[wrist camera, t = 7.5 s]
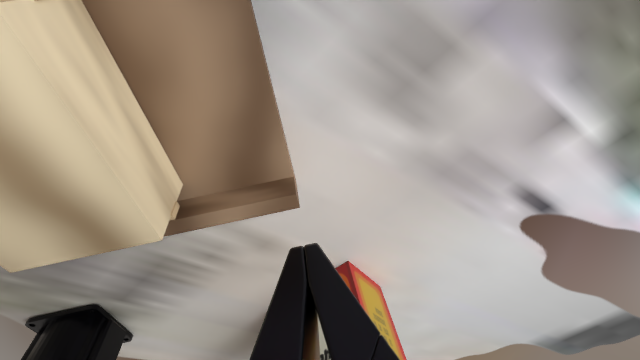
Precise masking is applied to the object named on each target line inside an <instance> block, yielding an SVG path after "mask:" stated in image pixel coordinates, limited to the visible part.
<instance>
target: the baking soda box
mask: <svg viewBox="0 0 640 360" xmlns="http://www.w3.org/2000/svg"><path fill="white" fill-rule="evenodd" d="M335 269H336V270H337V272H338V273H339V275H340V276H341V277H342V279H343V280H344V282H345V283H346V285H347V286H348V287H349V289H350V290H351V292H352V293H353V295H354V296H355V297H356V299H357V300H358V302H359V303H360V304H361V306H362V307H363V309H364V310H365V312H366V313H367V314H368V316H369V317H370V319H371V320H372V321H373V323H374V324H375V326H376V327H377V329H378V330H379V331H380V335H382V336H383V337H384V338H385V340H386V341H387V343H388V344H389V345H390V347H391V348H392V349H393V351H394V352H395V353H396V355H397V356H398V357H399V359H400V360H406V357H405V354H404V352H403V349H402V346H401V343H400V340H399V338H398V335H397V332H396V329H395V326H394V324H393V321H392V318H391V315H390V313H389V310H388V307H387V304H386V301H385V299H384V296H383V293H382V290H381V287H380V286H379V285H378V284H376V283H375V282H374V281H373V280H371V279H370V278H369V277H368V276H366V275H365V274H364V273H363V272H361V271H360V270H359V269H358V268H356V267H355V266H354V265H353V264H351V263H350V262H349V261H347V262H345V263H344V264H342V265H340V266H339V267H337V268H335ZM317 315H318V314H317ZM318 327H319V345H320V360H331V358H330V355H329V351H328V348H327V344H326V341H325V338H324V334H323V331H322V328H321V324H320V321H319V318H318Z"/></svg>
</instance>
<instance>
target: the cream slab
mask: <svg viewBox="0 0 640 360" xmlns="http://www.w3.org/2000/svg"><path fill="white" fill-rule="evenodd" d="M182 186H183V184H182V182H181V180H180V178H179V176H178V175H177V173H176V171H175V169H174V167H173V165H172V164H171V162H170V160H169V158H168V156H167V155H166V153H165V151H164V149H163V147H162V146H161V144H160V142H159V140H158V138H157V136H156V135H155V133H154V131H153V129H152V127H151V126H150V124H149V122H148V120H147V118H146V117H145V115H144V113H143V111H142V109H141V107H140V106H139V104H138V102H137V100H136V98H135V97H134V95H133V93H132V91H131V89H130V88H129V86H128V84H127V82H126V80H125V78H124V77H123V75H122V73H121V71H120V69H119V68H118V66H117V64H116V62H115V60H114V59H113V57H112V55H111V53H110V51H109V49H108V48H107V46H106V44H105V42H104V40H103V39H102V37H101V35H100V33H99V31H98V30H97V28H96V26H95V24H94V22H93V20H92V19H91V17H90V15H89V13H88V11H87V10H86V8H85V6H84V4H83V2H82V0H0V266H2V267H3V268H4V269H6V270H7V271H8V272H10V273H12V272H17V271H21V270H26V269H31V268H35V267H40V266H45V265H49V264H54V263H59V262H63V261H68V260H73V259H77V258H82V257H87V256H91V255H96V254H101V253H105V252H110V251H115V250H119V249H124V248H129V247H133V246H138V245H143V244H147V243H152V242H157V241H161V240H162V239H163V236H164V234H165V231H166V228H167V226H168V223H169V221H170V220H174V219H175V218H176V215H177V213H178V210H179V207H180V206H179V204H178V202H177V199H178V197H179V194H180V191H181V189H182Z"/></svg>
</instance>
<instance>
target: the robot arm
mask: <svg viewBox="0 0 640 360" xmlns="http://www.w3.org/2000/svg"><path fill="white" fill-rule="evenodd" d="M317 314H318V315H317ZM318 318H319V321H320V324H321V328H322V331H323V334H324V338H325V341H326V344H327V348H328V351H329V355H330V358H331V360H400V359H399V357H398V356H397V355H396V353H395V352H394V351H393V349H392V348H391V347H390V345H389V344H388V343H387V341H386V340H385V338H384V337H383V336H382V335H380V331H379V330H378V329H377V327H376V326H375V324H374V323H373V321H372V320H371V319H370V317H369V316H368V314H367V313H366V312H365V310H364V309H363V307H362V306H361V304H360V303H359V302H358V300H357V299H356V297H355V296H354V295H353V293H352V292H351V290H350V289H349V287H348V286H347V285H346V283H345V282H344V280H343V279H342V277H341V276H340V275H339V273H338V272H337V270H336V269H335V268H334V266H333V265H332V263H331V262H330V260H329V259H328V258H327V256H326V255H325V253H324V252H323V250H322V249H321V248H320V246H319V245H318V244H317V243H313V244H308V245H305V246H304V247H303V246H299V247H294V248H291V249H290V251H289V253H288V256H287V259H286V262H285V264H284V267H283V270H282V272H281V275H280V278H279V281H278V283H277V286H276V289H275V292H274V294H273V297H272V300H271V302H270V305H269V308H268V311H267V313H266V316H265V319H264V322H263V324H262V327H261V330H260V332H259V335H258V338H257V341H256V343H255V346H254V349H253V352H252V354H251V357H250V360H320V345H319V327H318ZM25 326H27V327H28V328H30V329H31V330H33V331H34V332H36V333H37V335H36V336H35V338H34V340H33V341H32V343H31V344H30V346H29V348H28V349H27V351H26V352H25V354H24V356H23V357H22V359H21V360H116V358H117V356H118V353H119V351H120V348H121V346H122V343H125V342H129V341H131V340H132V337H133V335H132V334H131V333H130V332H129V331H128V330H127V329H126V328H124V327H123V326H122V325H121V324H120V323H119V322H118V321H116V320H115V319H114V318H113V317H112V316H111V315H110V314H108V313H107V312H106V311H105V310H104V309H103V308H102V307H100V306H99V305H89V306H85V307H80V308H76V309H71V310H67V311H62V312H57V313H53V314H48V315H44V316H39V317H35V318H30V319H29V320H28V321H27V323H26V324H25Z"/></svg>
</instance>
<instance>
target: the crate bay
mask: <svg viewBox="0 0 640 360" xmlns="http://www.w3.org/2000/svg"><path fill="white" fill-rule="evenodd" d="M82 2H83V4H84V6H85V8H86V10H87V11H88V13H89V15H90V17H91V19H92V20H93V22H94V24H95V26H96V28H97V30H98V31H99V33H100V35H101V37H102V39H103V40H104V42H105V44H106V46H107V48H108V49H109V51H110V53H111V55H112V57H113V59H114V60H115V62H116V64H117V66H118V68H119V69H120V71H121V73H122V75H123V77H124V78H125V80H126V82H127V84H128V86H129V88H130V89H131V91H132V93H133V95H134V97H135V98H136V100H137V102H138V104H139V106H140V107H141V109H142V111H143V113H144V115H145V117H146V118H147V120H148V122H149V124H150V126H151V127H152V129H153V131H154V133H155V135H156V136H157V138H158V140H159V142H160V144H161V146H162V147H163V149H164V151H165V153H166V155H167V156H168V158H169V160H170V162H171V164H172V165H173V167H174V169H175V171H176V173H177V175H178V176H179V178H180V180H181V182H182V184H183V186H182V189H181V191H180V194H179V197H178V199H177V202H178V204H179V206H180V207H179V210H178V213H177V215H176V218H175V219H174V220H170V221H169V223H168V226H167V228H166V231H165V234H164V236H169V235H174V234H178V233H183V232H188V231H192V230H197V229H202V228H206V227H211V226H216V225H220V224H225V223H230V222H234V221H239V220H244V219H249V218H253V217H258V216H263V215H267V214H272V213H277V212H281V211H286V210H291V209H295V208H300V206H299V199H298V192H297V185H296V179H295V175H294V171H293V167H292V163H291V159H290V155H289V151H288V147H287V143H286V139H285V135H284V131H283V127H282V123H281V119H280V115H279V111H278V107H277V103H276V99H275V95H274V91H273V87H272V83H271V79H270V75H269V71H268V67H267V63H266V59H265V55H264V51H263V47H262V43H261V39H260V35H259V31H258V27H257V23H256V19H255V15H254V11H253V7H252V3H251V0H82ZM164 236H163V237H164Z"/></svg>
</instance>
